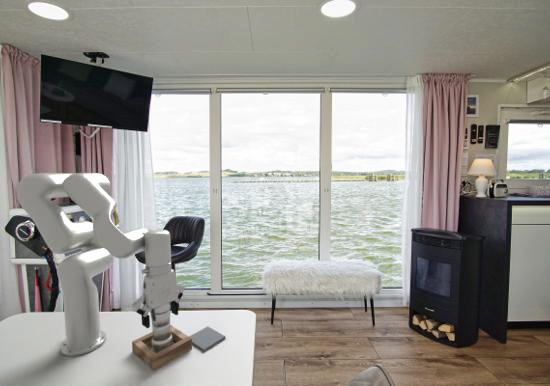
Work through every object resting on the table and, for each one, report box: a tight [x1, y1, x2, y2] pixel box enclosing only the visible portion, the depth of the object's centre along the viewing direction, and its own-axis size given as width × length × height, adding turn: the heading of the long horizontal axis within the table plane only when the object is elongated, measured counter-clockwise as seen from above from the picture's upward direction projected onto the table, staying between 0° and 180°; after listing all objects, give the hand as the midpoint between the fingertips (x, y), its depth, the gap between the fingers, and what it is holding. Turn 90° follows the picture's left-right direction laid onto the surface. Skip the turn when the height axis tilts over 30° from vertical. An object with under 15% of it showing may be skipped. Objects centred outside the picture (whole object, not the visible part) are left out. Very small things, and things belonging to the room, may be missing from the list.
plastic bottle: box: [149, 302, 174, 354], centre depth 88 cm, size 6×7×20 cm
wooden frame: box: [131, 324, 193, 372], centre depth 89 cm, size 14×13×4 cm
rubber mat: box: [189, 326, 226, 353], centre depth 94 cm, size 10×9×1 cm
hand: (161, 319), depth 88 cm, fingers open, 9 cm apart
